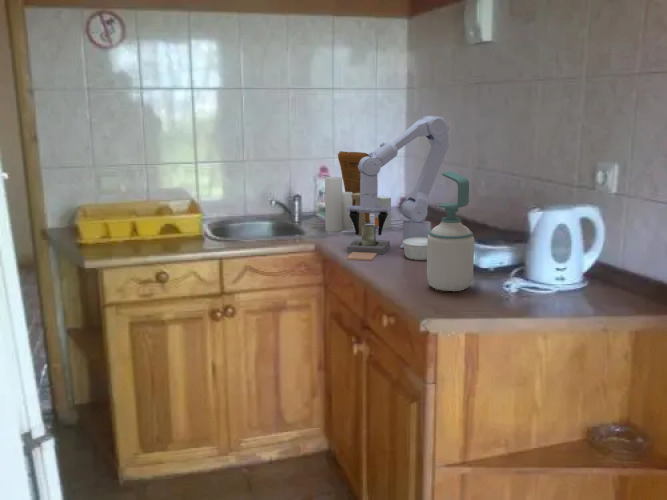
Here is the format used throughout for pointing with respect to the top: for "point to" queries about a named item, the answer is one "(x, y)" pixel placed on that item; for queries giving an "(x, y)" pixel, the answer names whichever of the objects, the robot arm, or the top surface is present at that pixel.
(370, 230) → the sage block
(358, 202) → the handle
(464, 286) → the soap bottle
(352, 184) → the pancake mix bag
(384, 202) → the skincare box
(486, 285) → the top surface
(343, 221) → the pair of white cylinders
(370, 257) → the coaster
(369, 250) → the pocket board
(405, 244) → the ramekin
